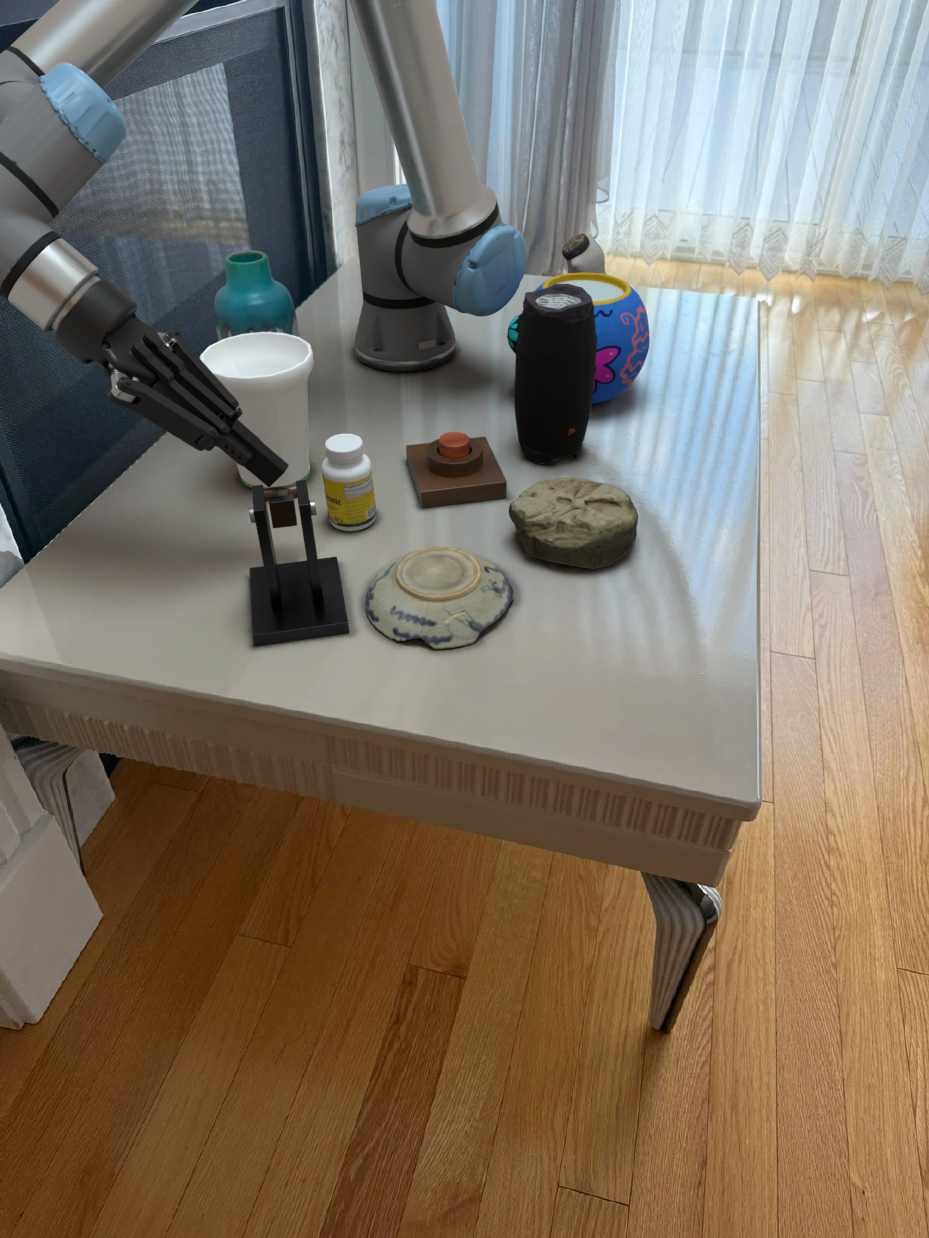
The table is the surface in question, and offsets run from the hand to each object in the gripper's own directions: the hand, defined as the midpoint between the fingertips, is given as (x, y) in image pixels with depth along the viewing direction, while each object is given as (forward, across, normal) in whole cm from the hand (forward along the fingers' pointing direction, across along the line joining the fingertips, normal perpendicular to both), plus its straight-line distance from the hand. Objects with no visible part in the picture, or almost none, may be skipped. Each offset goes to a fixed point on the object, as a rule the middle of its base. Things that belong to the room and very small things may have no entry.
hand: (278, 476), depth 91 cm
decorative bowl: (+19, +6, +6) cm, 21 cm away
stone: (+28, -6, +14) cm, 32 cm away
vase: (-3, -35, -16) cm, 39 cm away
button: (+15, -17, +7) cm, 24 cm away
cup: (+2, -15, -11) cm, 19 cm away
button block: (+17, -17, +4) cm, 25 cm away
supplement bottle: (+10, -7, -3) cm, 13 cm away
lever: (+2, +5, +1) cm, 6 cm away
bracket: (+9, +9, -4) cm, 13 cm away
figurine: (+28, -62, +15) cm, 69 cm away
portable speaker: (+25, -25, +12) cm, 38 cm away
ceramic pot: (+27, -41, +14) cm, 51 cm away
